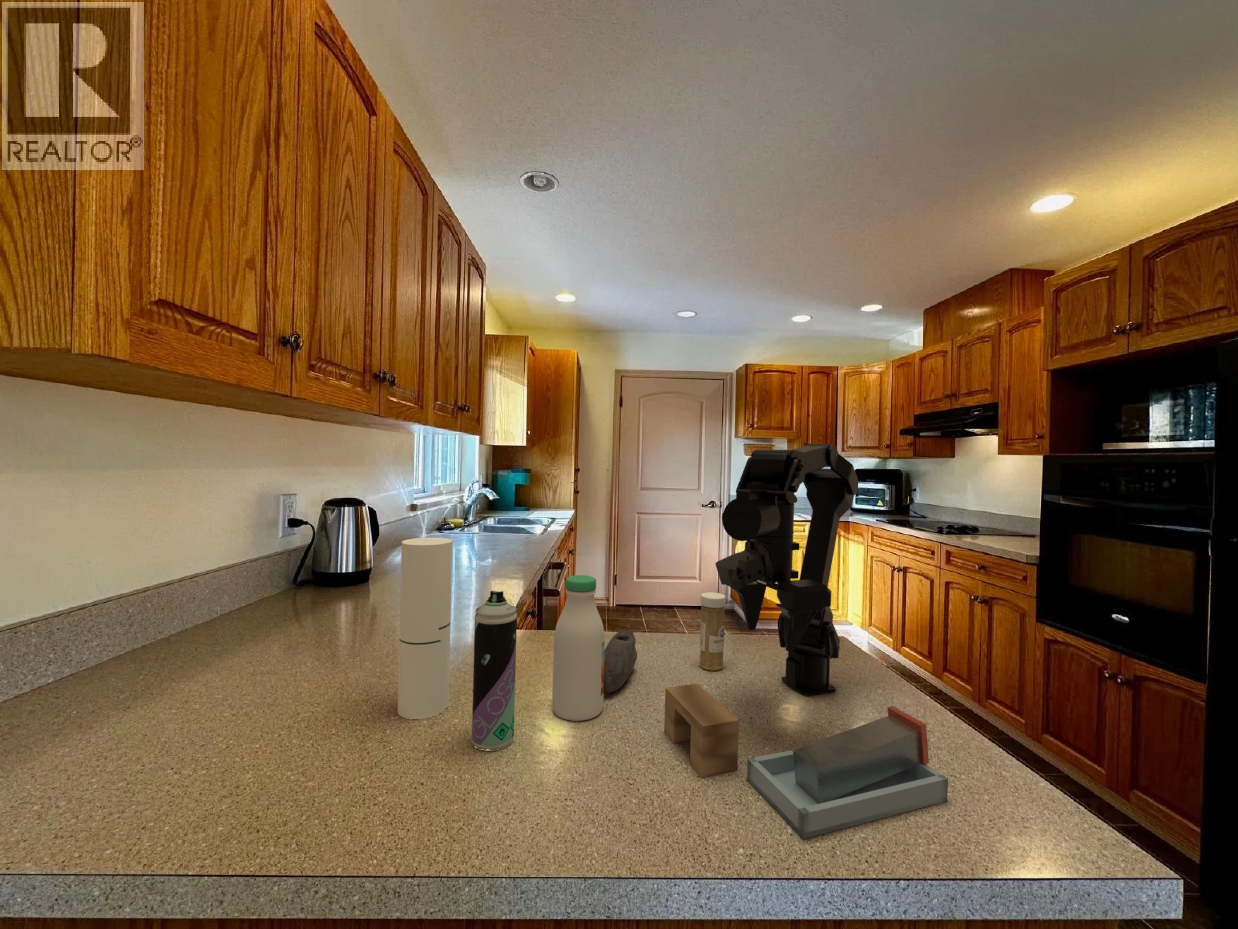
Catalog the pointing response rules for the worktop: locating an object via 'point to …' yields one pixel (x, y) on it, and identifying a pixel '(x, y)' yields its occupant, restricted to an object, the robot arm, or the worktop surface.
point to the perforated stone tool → (619, 660)
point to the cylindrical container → (424, 627)
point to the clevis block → (702, 729)
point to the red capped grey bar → (861, 756)
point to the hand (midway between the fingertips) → (769, 639)
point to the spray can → (494, 673)
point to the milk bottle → (578, 654)
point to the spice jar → (712, 631)
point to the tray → (851, 809)
